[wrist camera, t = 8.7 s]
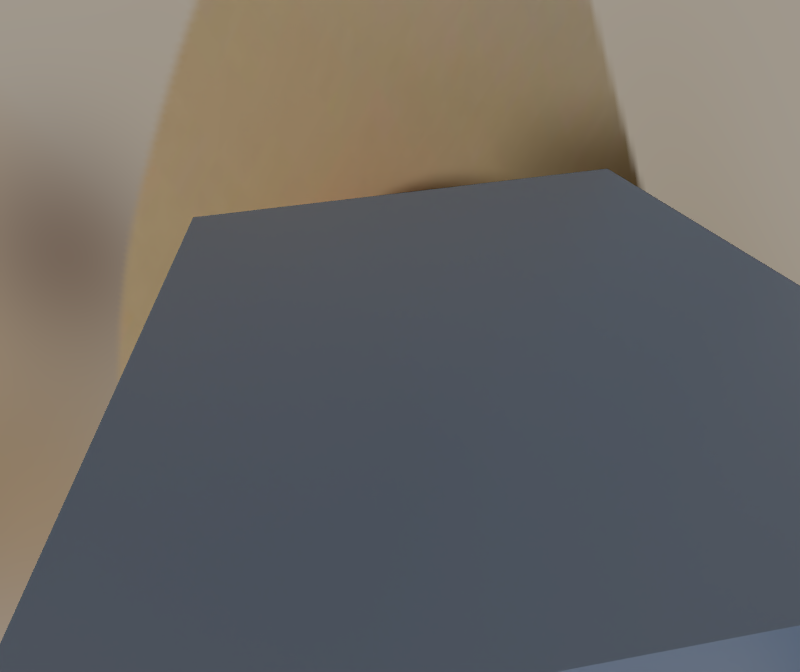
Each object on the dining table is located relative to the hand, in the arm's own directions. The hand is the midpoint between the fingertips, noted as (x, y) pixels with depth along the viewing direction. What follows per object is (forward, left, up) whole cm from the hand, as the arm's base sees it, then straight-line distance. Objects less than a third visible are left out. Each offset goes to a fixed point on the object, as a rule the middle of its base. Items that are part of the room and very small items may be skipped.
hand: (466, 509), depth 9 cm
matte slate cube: (0, 0, -4) cm, 4 cm away
